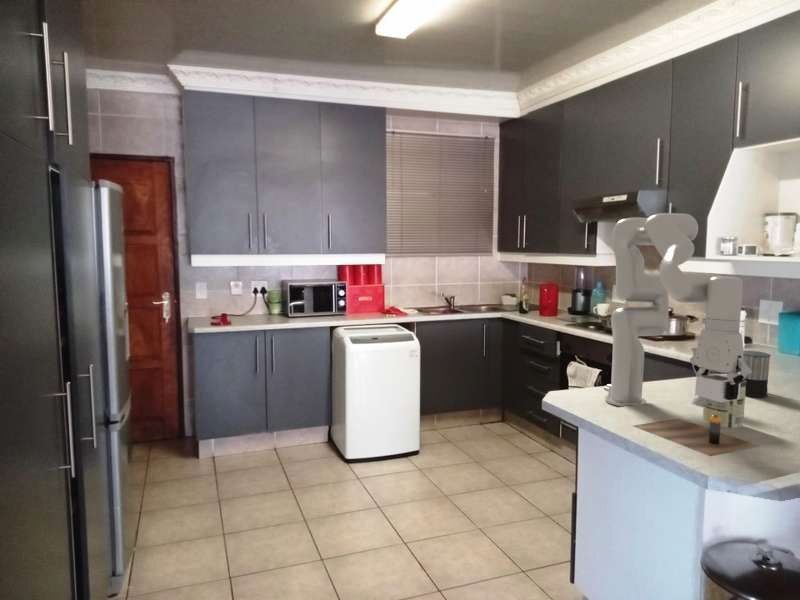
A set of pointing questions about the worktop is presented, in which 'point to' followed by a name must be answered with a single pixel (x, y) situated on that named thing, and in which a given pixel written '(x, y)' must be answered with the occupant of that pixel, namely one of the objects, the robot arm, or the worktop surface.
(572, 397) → the worktop surface
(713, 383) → the white hollow square box
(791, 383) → the worktop surface
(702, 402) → the chalice
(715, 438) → the post
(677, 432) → the board
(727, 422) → the coffee can
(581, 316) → the worktop surface
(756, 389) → the milk frother
